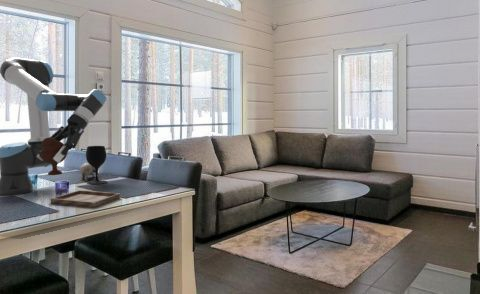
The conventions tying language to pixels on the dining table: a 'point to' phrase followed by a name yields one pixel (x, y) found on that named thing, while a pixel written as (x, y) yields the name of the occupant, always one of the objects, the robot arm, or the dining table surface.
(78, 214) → the dining table surface
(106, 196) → the tray
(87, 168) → the elephant figurine
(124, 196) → the dining table surface
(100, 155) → the wine glass
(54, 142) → the ice cream bowl
